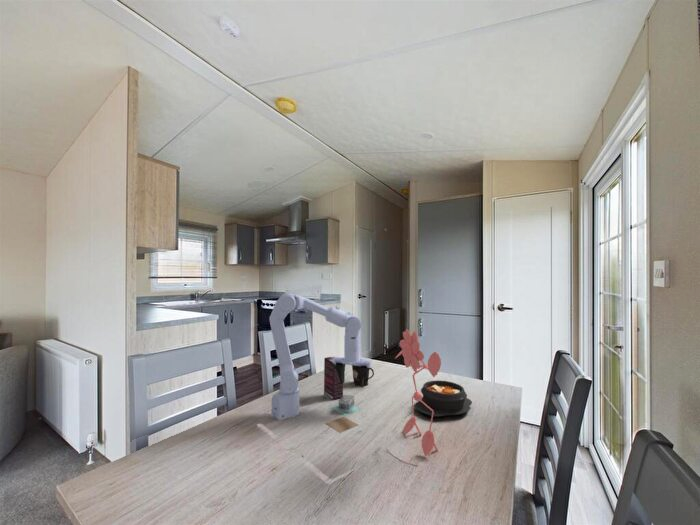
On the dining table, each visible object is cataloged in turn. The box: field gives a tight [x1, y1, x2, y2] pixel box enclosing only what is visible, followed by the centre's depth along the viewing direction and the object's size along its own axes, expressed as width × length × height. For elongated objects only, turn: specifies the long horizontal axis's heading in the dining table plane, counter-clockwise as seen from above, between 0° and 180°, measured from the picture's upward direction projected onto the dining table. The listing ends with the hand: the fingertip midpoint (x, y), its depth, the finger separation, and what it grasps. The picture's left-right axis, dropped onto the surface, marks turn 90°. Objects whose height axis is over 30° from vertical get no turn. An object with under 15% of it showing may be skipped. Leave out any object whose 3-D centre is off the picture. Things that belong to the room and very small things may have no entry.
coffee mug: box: [351, 365, 375, 388], centre depth 147 cm, size 12×9×10 cm
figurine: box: [387, 328, 442, 467], centre depth 97 cm, size 15×26×35 cm, turn 19°
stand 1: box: [331, 405, 362, 417], centre depth 120 cm, size 8×8×1 cm
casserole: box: [413, 380, 473, 417], centre depth 123 cm, size 25×19×8 cm
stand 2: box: [325, 416, 359, 434], centre depth 108 cm, size 8×8×1 cm
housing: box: [338, 393, 355, 413], centre depth 120 cm, size 6×4×4 cm, turn 160°
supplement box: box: [323, 356, 344, 401], centre depth 133 cm, size 9×5×16 cm, turn 31°
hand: (352, 384), depth 120 cm, fingers open, 7 cm apart
